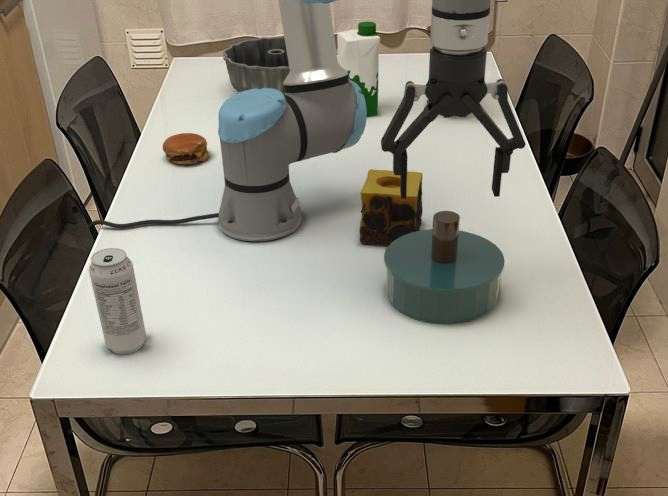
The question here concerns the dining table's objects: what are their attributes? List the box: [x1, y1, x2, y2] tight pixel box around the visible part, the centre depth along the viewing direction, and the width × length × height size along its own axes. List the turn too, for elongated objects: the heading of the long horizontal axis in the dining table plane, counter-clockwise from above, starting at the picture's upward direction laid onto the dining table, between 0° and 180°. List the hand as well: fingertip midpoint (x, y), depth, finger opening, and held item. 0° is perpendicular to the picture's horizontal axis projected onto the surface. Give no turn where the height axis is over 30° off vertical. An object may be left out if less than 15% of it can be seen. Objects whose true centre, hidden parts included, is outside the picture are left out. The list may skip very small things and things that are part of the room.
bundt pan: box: [222, 36, 290, 95], centre depth 208 cm, size 26×26×10 cm
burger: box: [162, 132, 210, 165], centre depth 177 cm, size 10×9×5 cm
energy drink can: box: [88, 247, 147, 355], centre depth 120 cm, size 6×6×15 cm
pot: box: [385, 269, 501, 325], centre depth 132 cm, size 18×18×6 cm
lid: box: [383, 210, 506, 293], centre depth 128 cm, size 19×19×8 cm
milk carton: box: [336, 21, 381, 117], centre depth 192 cm, size 9×9×20 cm
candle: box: [359, 169, 424, 247], centre depth 147 cm, size 10×10×10 cm
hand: (449, 193), depth 123 cm, fingers open, 13 cm apart
